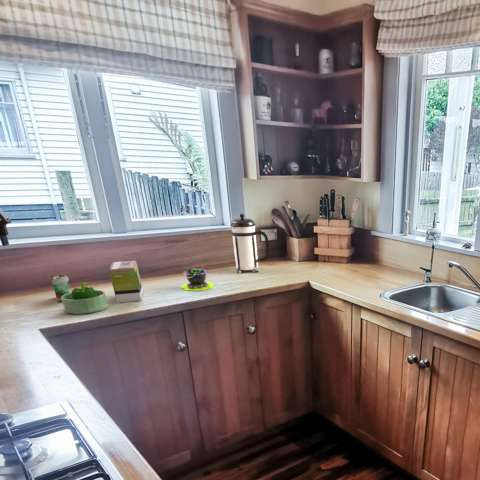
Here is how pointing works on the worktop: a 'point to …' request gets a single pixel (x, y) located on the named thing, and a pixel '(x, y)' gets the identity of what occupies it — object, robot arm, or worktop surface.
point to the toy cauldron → (196, 280)
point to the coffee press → (246, 244)
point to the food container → (60, 285)
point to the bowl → (85, 303)
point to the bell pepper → (83, 292)
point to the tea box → (126, 281)
